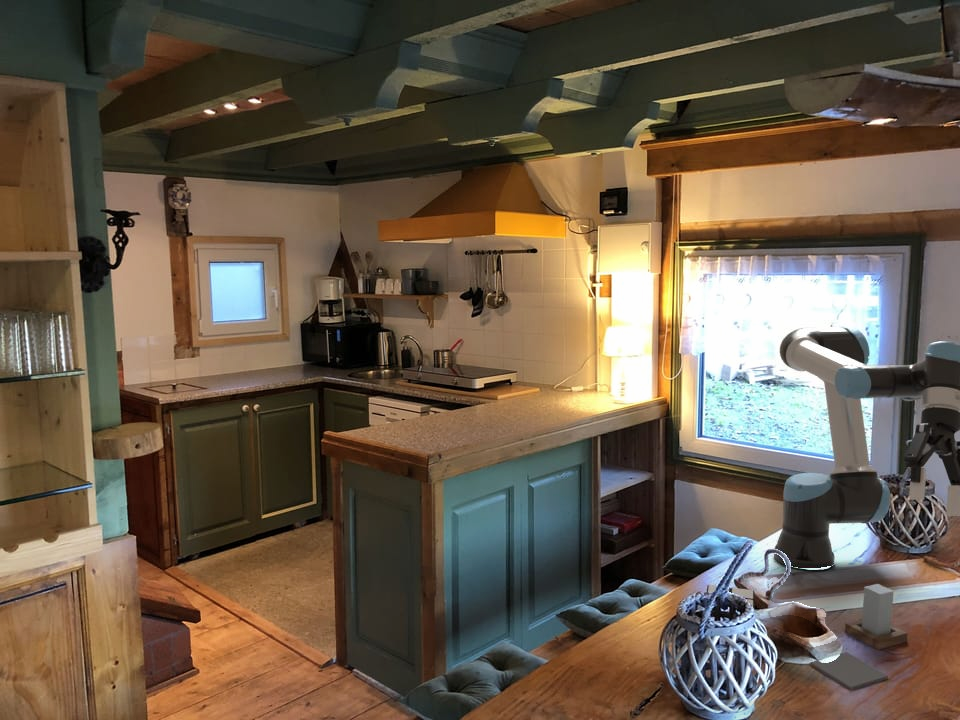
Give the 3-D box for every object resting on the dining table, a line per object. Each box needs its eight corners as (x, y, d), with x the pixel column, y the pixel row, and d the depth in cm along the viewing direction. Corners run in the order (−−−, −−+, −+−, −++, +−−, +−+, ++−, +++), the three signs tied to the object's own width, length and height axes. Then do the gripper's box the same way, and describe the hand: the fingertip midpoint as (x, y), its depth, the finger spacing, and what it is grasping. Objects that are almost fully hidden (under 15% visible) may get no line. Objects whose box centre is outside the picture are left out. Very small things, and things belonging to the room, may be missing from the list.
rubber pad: (810, 664, 158) (810, 662, 158) (846, 654, 162) (846, 651, 162) (850, 690, 149) (850, 687, 149) (887, 678, 153) (888, 675, 153)
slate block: (861, 634, 171) (864, 586, 169) (874, 630, 172) (877, 583, 171) (876, 642, 167) (880, 594, 165) (890, 639, 169) (893, 591, 167)
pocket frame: (844, 631, 172) (845, 623, 172) (872, 624, 175) (873, 615, 175) (878, 649, 164) (878, 640, 164) (907, 641, 167) (907, 632, 167)
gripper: (925, 391, 160) (918, 492, 154) (991, 427, 171) (986, 523, 165) (890, 394, 166) (882, 491, 160) (956, 429, 177) (950, 521, 171)
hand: (935, 507), depth 163 cm, fingers open, 13 cm apart
